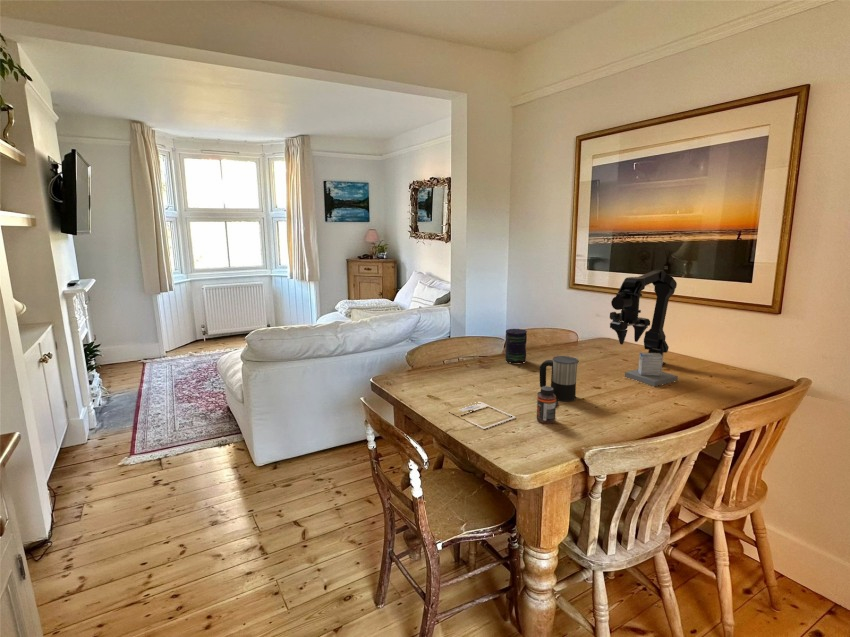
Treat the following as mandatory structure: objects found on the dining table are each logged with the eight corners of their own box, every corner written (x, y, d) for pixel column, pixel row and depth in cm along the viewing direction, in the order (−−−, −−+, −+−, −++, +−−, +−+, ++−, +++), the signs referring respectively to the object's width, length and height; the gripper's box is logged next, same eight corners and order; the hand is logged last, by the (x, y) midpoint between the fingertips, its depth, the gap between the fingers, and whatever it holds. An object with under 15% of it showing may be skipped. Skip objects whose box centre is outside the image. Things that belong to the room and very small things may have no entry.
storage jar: (510, 357, 223) (511, 327, 220) (529, 360, 217) (530, 330, 214) (501, 362, 215) (502, 331, 212) (520, 365, 209) (521, 334, 206)
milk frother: (575, 393, 173) (577, 356, 170) (579, 409, 158) (581, 368, 155) (537, 391, 176) (538, 354, 173) (537, 406, 161) (538, 366, 158)
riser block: (647, 373, 197) (647, 367, 197) (677, 383, 185) (677, 376, 185) (624, 378, 191) (625, 372, 191) (654, 388, 179) (654, 381, 178)
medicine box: (658, 373, 189) (660, 353, 187) (661, 376, 184) (663, 356, 183) (637, 372, 190) (639, 352, 189) (640, 375, 186) (642, 355, 184)
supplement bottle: (533, 417, 152) (535, 385, 150) (551, 416, 152) (552, 384, 150) (539, 424, 146) (541, 391, 144) (557, 424, 146) (559, 390, 144)
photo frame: (479, 400, 165) (516, 416, 151) (479, 403, 165) (516, 419, 151) (448, 410, 157) (483, 428, 143) (448, 413, 157) (483, 431, 143)
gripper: (630, 303, 204) (627, 336, 207) (600, 306, 195) (598, 341, 198) (652, 306, 194) (649, 341, 197) (622, 310, 186) (619, 347, 189)
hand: (628, 343), depth 196 cm, fingers open, 9 cm apart
